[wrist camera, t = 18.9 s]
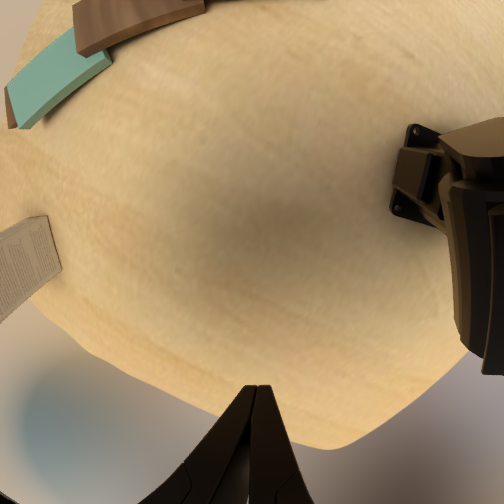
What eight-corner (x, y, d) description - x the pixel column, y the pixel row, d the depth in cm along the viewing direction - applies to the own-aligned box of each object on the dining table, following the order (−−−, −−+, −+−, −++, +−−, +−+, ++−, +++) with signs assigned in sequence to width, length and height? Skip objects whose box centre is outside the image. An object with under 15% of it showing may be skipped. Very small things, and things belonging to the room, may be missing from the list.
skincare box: (25, 217, 22) (-59, 267, 11) (48, 214, 21) (-47, 270, 10) (40, 270, 24) (-32, 330, 13) (63, 271, 24) (-15, 340, 13)
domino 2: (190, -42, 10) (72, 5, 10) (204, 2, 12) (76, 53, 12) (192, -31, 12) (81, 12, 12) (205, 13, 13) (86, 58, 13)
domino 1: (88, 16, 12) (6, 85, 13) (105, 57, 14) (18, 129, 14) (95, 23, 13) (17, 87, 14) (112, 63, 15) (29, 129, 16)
